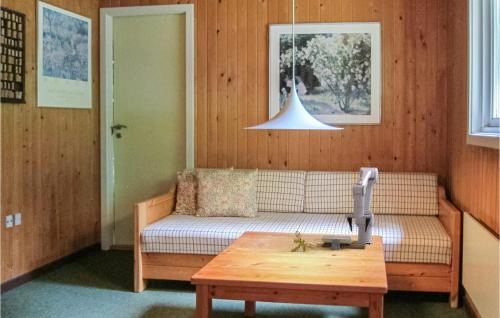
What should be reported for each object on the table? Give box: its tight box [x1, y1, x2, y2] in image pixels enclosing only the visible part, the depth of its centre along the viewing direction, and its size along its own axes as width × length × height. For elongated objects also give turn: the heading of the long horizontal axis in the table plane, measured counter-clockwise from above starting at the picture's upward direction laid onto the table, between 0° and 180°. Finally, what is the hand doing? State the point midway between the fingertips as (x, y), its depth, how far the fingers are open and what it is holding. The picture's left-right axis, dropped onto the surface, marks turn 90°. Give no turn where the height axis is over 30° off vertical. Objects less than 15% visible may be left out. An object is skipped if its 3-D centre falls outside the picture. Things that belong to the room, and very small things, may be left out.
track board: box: [321, 242, 367, 250], centre depth 301 cm, size 12×23×1 cm, turn 76°
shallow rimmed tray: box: [321, 234, 354, 245], centre depth 302 cm, size 10×16×3 cm, turn 76°
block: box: [331, 239, 341, 251], centre depth 292 cm, size 4×4×5 cm
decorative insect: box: [290, 230, 316, 252], centre depth 287 cm, size 13×3×10 cm
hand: (358, 231), depth 299 cm, fingers open, 7 cm apart
